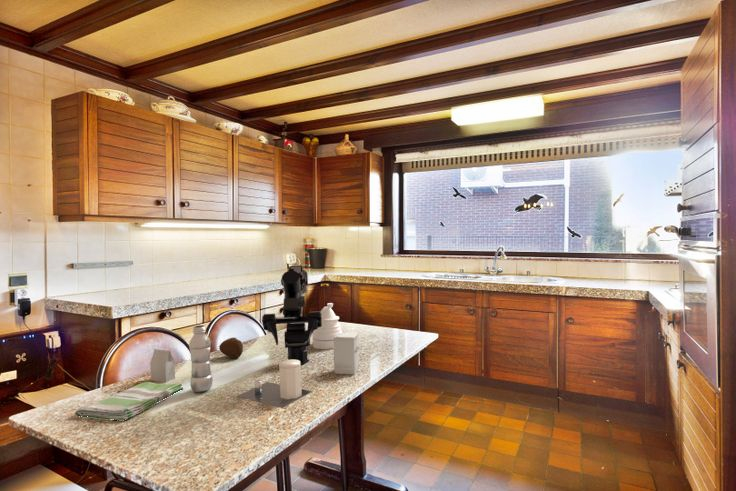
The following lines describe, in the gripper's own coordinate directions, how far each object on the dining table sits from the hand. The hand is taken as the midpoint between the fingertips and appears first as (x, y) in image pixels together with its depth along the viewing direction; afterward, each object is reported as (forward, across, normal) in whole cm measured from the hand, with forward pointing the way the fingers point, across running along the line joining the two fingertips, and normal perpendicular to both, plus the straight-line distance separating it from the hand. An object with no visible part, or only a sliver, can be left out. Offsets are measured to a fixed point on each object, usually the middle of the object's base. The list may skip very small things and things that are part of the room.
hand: (292, 343), depth 127 cm
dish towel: (+12, -46, +9) cm, 48 cm away
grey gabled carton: (-2, -44, +22) cm, 49 cm away
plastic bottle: (+8, -28, +12) cm, 32 cm away
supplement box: (+1, +18, +18) cm, 26 cm away
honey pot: (-24, +12, +44) cm, 51 cm away
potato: (-17, -26, +36) cm, 48 cm away
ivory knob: (+15, 0, +4) cm, 15 cm away
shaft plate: (+14, -5, +6) cm, 16 cm away
